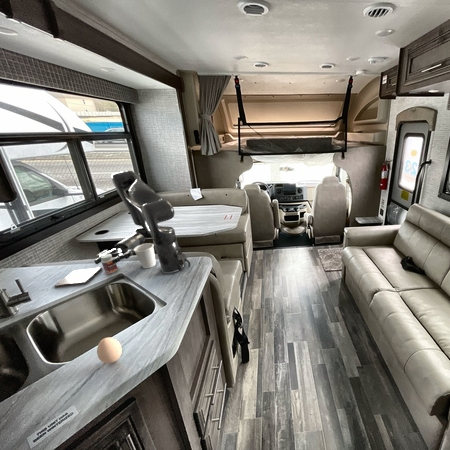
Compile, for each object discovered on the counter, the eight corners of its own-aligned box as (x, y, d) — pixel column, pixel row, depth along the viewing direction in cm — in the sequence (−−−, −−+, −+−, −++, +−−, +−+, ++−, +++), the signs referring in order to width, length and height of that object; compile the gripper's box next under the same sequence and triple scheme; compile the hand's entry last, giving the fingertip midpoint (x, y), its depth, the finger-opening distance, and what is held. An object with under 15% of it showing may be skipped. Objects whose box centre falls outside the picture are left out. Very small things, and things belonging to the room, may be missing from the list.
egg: (114, 351, 73) (105, 330, 69) (129, 353, 72) (120, 333, 68) (98, 367, 68) (87, 346, 65) (113, 370, 67) (103, 349, 64)
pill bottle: (111, 274, 112) (105, 258, 109) (103, 273, 113) (96, 257, 110) (120, 268, 116) (114, 253, 113) (112, 267, 117) (106, 252, 114)
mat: (102, 269, 117) (101, 267, 116) (85, 283, 106) (84, 282, 105) (74, 272, 115) (73, 270, 115) (55, 287, 104) (54, 285, 104)
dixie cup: (161, 259, 123) (156, 242, 119) (154, 268, 115) (149, 250, 111) (144, 261, 122) (138, 244, 118) (136, 270, 114) (129, 252, 110)
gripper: (111, 239, 124) (86, 255, 109) (139, 238, 124) (117, 254, 109) (116, 252, 127) (92, 269, 112) (143, 251, 127) (122, 268, 112)
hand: (104, 262), depth 111 cm, fingers open, 8 cm apart
